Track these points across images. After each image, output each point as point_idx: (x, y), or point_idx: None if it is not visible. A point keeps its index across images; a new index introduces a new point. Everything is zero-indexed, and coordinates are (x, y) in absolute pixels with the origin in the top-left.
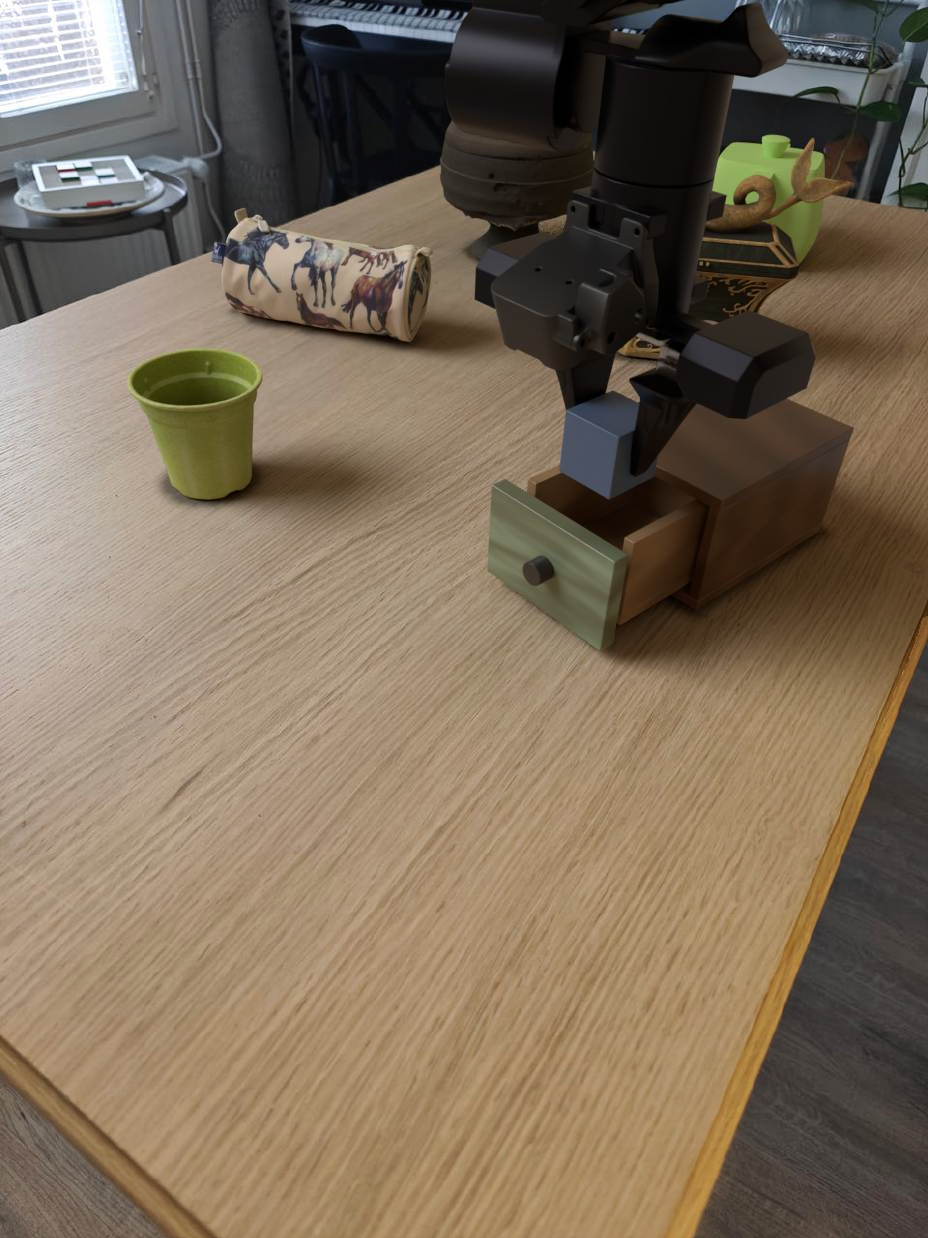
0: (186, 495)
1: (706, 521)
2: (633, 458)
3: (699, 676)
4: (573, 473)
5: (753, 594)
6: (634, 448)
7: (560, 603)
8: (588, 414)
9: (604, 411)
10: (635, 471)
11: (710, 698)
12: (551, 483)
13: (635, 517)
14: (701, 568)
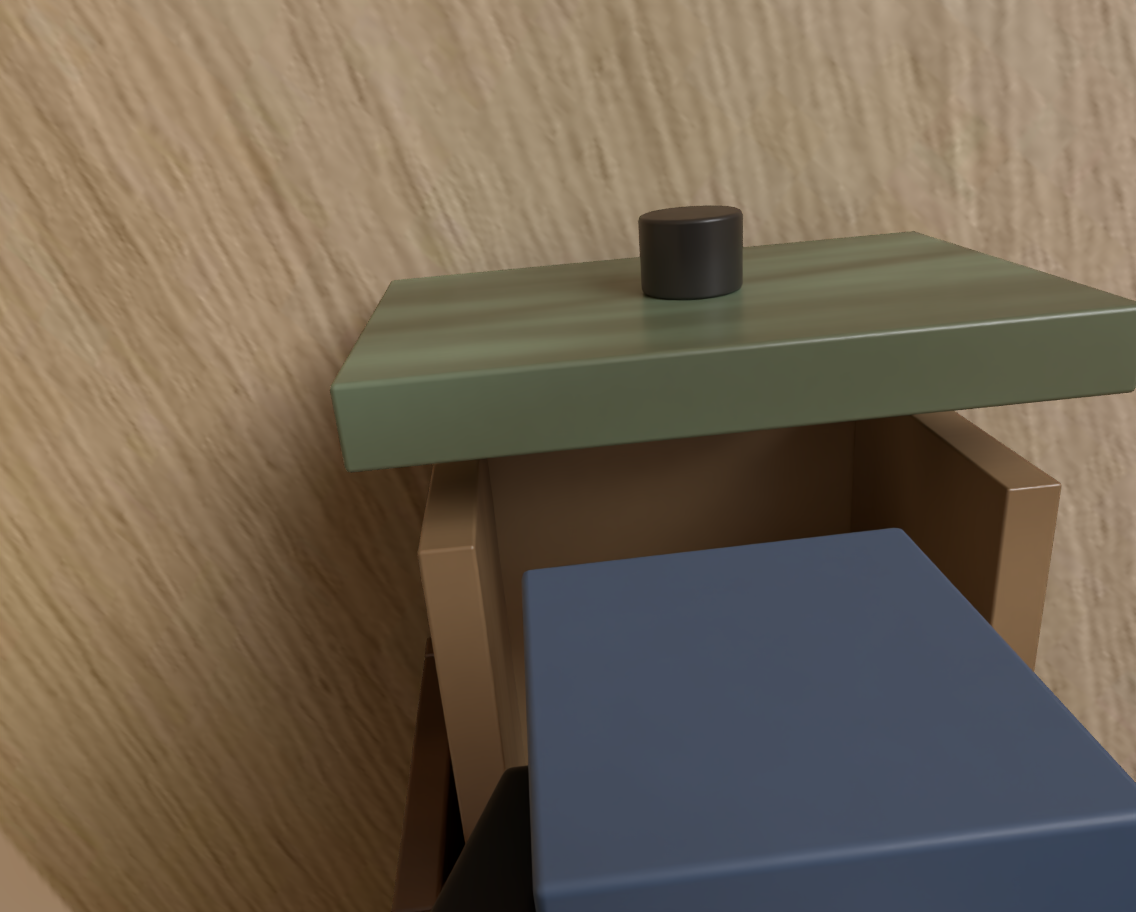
0: None
1: (440, 854)
2: (516, 843)
3: (208, 472)
4: (803, 554)
5: (399, 787)
6: (513, 903)
7: (583, 277)
8: (976, 906)
9: None
10: (497, 789)
11: (121, 437)
12: (978, 560)
13: None
14: (428, 725)
